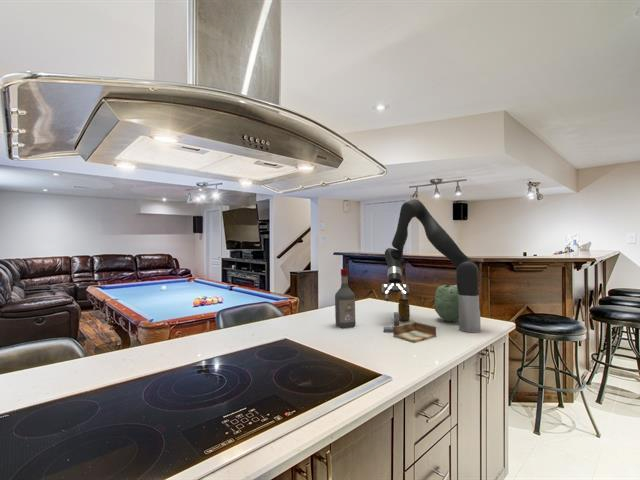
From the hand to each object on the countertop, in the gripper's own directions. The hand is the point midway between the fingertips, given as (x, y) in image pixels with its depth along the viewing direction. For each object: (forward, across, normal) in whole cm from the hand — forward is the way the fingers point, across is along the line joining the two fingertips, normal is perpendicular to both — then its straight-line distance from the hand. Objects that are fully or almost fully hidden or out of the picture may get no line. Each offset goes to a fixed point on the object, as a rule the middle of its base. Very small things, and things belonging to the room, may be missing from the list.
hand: (395, 300), depth 168 cm
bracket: (+16, -2, +2) cm, 17 cm away
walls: (+22, +8, -3) cm, 24 cm away
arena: (+22, +8, -3) cm, 24 cm away
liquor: (+11, -26, +8) cm, 30 cm away
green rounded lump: (-1, +29, +20) cm, 35 cm away
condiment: (0, +5, +19) cm, 20 cm away
